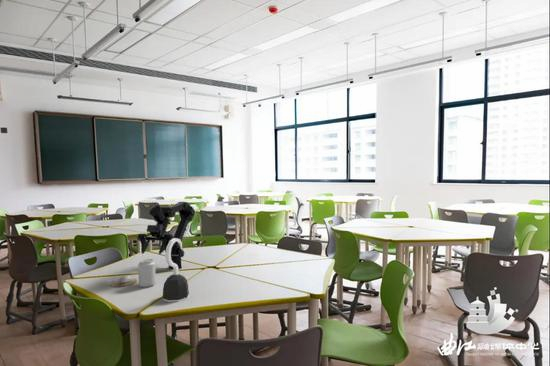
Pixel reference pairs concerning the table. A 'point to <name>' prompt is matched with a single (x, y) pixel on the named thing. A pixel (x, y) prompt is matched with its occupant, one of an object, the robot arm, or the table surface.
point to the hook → (174, 279)
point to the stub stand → (123, 281)
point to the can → (146, 273)
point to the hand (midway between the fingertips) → (150, 253)
